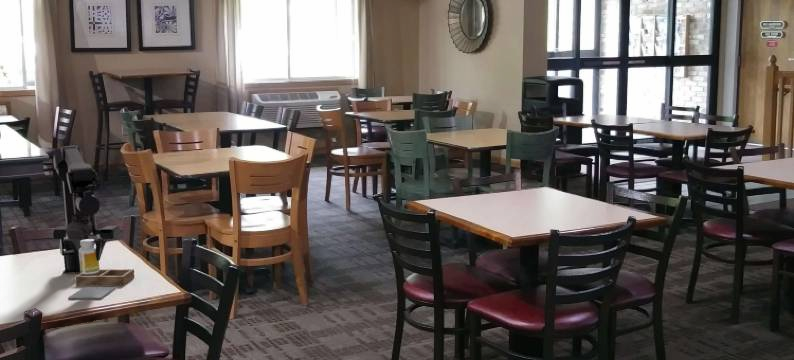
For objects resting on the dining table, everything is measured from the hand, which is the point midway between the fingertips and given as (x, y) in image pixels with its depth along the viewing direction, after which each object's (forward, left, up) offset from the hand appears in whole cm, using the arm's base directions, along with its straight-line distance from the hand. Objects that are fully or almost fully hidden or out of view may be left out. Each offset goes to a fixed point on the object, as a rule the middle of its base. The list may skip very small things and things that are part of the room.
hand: (89, 260), depth 256 cm
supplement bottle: (0, 0, -4) cm, 4 cm away
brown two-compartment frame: (-2, +13, -10) cm, 17 cm away
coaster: (0, 0, -10) cm, 10 cm away
